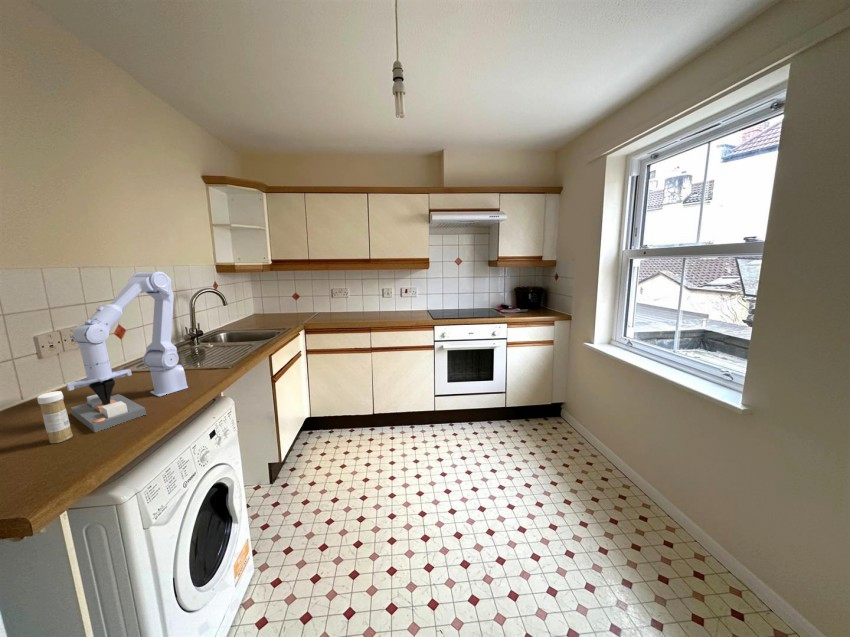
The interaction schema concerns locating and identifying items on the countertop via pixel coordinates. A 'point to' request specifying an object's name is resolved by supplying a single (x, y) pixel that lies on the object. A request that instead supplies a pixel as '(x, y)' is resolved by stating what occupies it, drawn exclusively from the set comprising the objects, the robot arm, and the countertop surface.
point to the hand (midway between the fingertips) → (106, 403)
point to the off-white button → (114, 409)
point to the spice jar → (55, 416)
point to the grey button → (93, 400)
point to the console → (100, 422)
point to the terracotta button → (99, 406)
